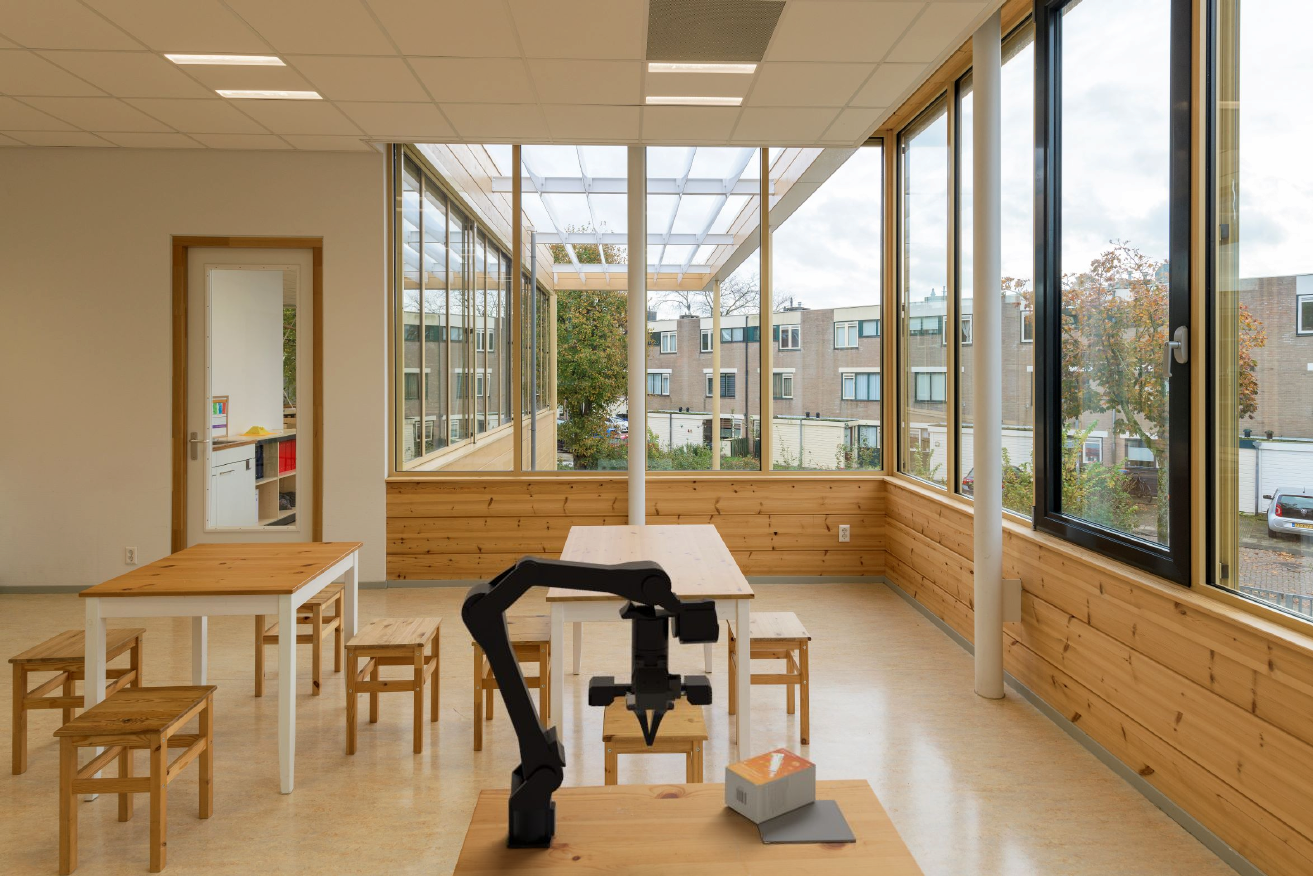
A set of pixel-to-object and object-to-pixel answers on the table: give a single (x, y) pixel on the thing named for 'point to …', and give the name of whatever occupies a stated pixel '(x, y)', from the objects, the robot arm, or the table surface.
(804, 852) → the table surface
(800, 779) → the small box
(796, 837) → the mat
